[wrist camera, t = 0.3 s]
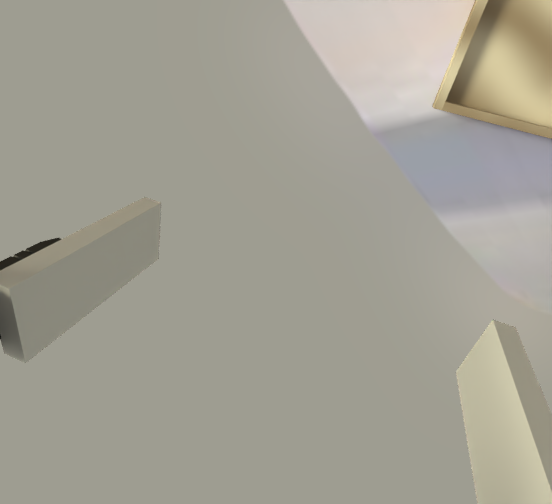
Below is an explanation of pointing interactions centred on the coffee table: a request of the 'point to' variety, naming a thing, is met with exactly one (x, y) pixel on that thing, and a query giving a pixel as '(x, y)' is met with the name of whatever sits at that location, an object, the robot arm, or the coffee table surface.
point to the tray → (503, 66)
